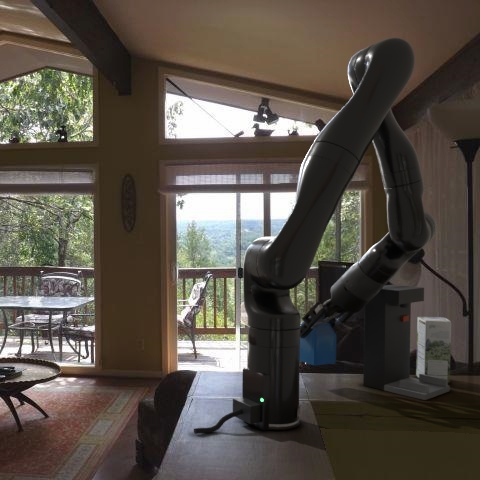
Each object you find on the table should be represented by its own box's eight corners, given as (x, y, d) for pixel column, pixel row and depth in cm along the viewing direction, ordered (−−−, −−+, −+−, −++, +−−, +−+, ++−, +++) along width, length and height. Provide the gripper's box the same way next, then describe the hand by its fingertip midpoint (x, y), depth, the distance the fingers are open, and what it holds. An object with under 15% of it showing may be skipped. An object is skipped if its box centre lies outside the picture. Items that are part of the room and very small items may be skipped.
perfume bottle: (295, 359, 129) (296, 306, 129) (317, 357, 132) (318, 305, 132) (313, 365, 124) (314, 309, 124) (335, 363, 126) (337, 308, 126)
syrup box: (440, 377, 137) (441, 316, 136) (450, 383, 131) (451, 320, 130) (415, 376, 137) (416, 315, 137) (424, 382, 131) (425, 319, 131)
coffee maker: (425, 400, 117) (426, 293, 117) (363, 385, 128) (364, 287, 128) (449, 391, 124) (451, 290, 124) (389, 378, 135) (390, 284, 135)
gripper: (366, 271, 126) (320, 317, 136) (327, 273, 117) (281, 322, 127) (388, 297, 122) (339, 343, 132) (349, 301, 113) (300, 350, 123)
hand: (310, 333), depth 129 cm, fingers closed on perfume bottle, 7 cm apart
